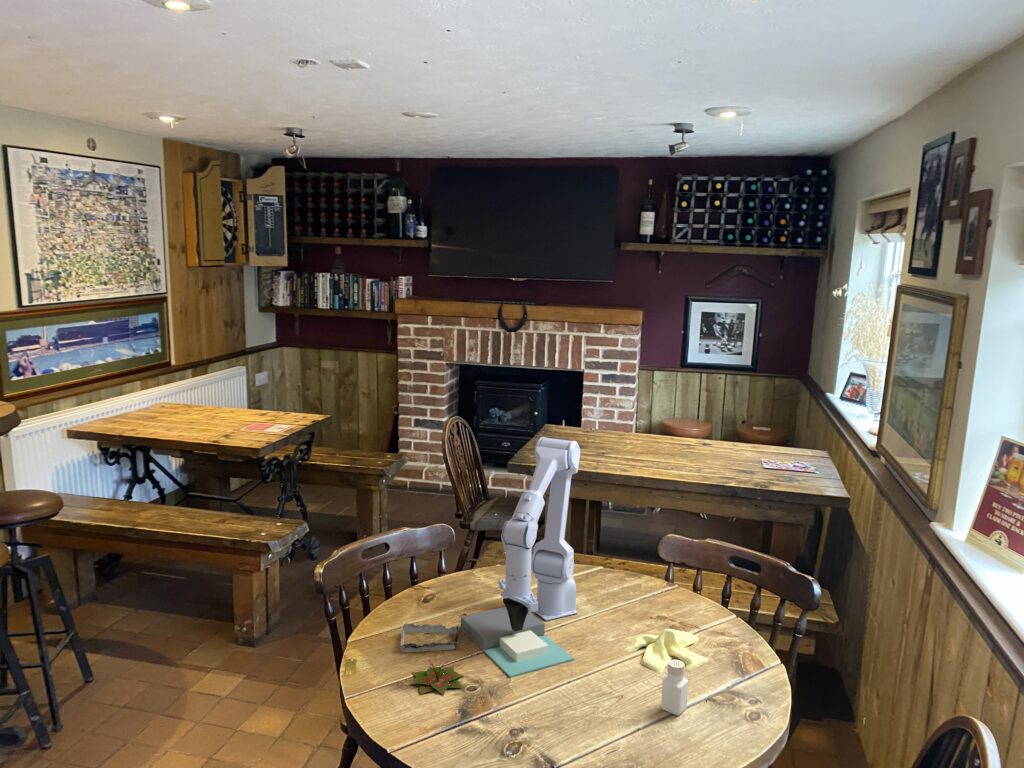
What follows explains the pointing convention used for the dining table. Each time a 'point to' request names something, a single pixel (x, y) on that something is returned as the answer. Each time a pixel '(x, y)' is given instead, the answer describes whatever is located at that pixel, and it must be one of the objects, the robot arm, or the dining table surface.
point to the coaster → (523, 645)
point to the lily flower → (437, 678)
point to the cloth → (667, 649)
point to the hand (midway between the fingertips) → (517, 629)
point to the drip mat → (522, 667)
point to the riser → (496, 627)
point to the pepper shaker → (674, 688)
